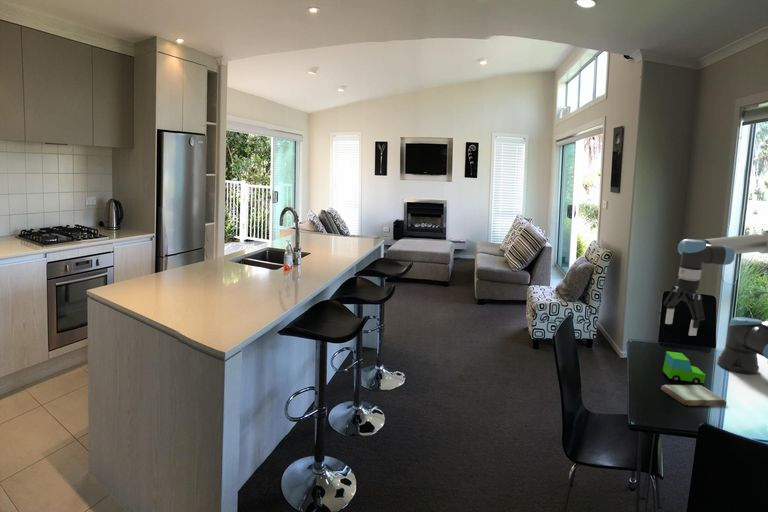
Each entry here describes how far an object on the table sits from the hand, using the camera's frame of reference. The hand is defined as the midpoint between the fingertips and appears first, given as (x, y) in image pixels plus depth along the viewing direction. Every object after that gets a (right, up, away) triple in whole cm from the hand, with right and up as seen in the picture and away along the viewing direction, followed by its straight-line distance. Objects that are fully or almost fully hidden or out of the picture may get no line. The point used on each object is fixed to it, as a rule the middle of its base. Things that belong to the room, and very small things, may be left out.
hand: (679, 329), depth 198 cm
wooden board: (-1, -24, -10) cm, 27 cm away
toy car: (+5, -22, +6) cm, 23 cm away
